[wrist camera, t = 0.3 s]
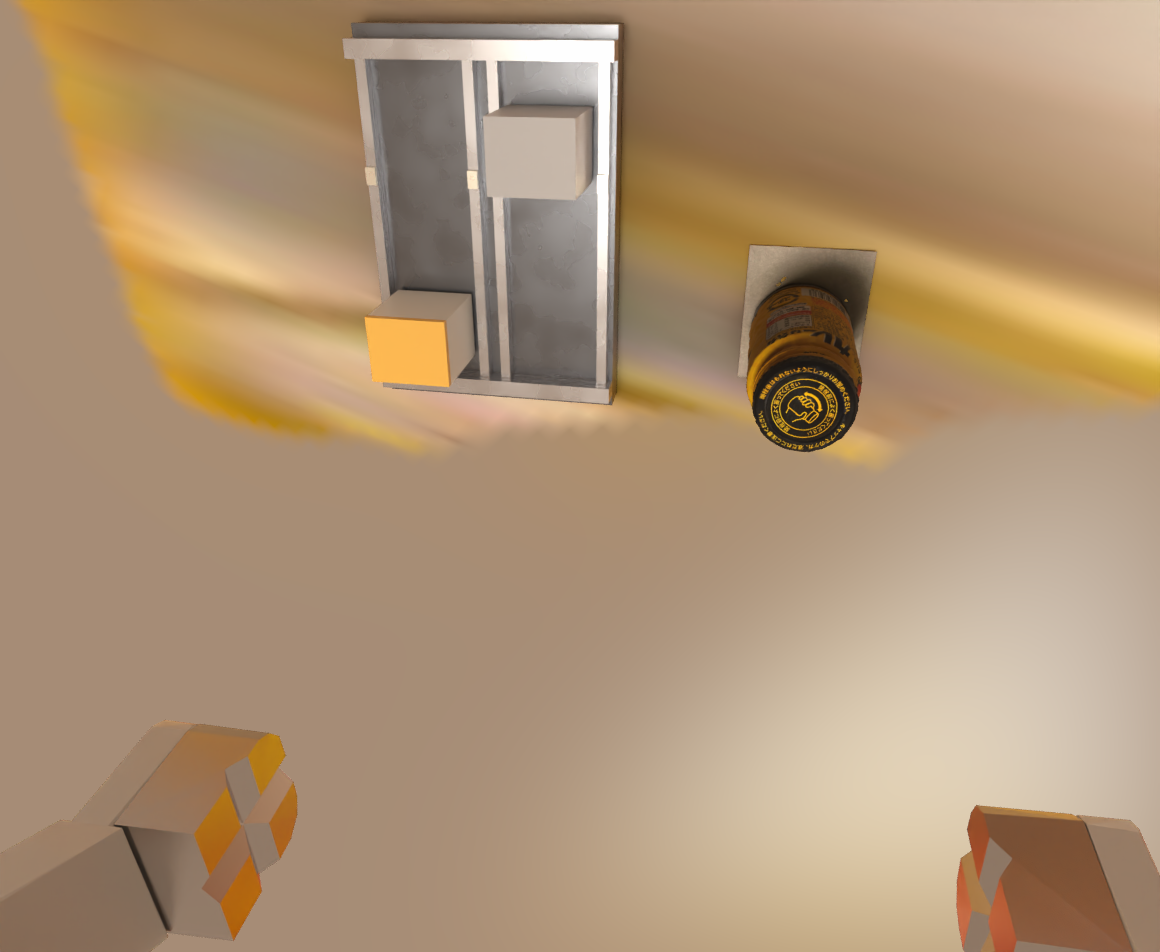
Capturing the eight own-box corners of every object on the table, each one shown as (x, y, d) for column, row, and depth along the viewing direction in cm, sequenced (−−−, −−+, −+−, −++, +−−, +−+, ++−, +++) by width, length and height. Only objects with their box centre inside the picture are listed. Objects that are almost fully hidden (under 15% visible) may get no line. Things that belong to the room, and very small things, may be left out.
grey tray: (365, 21, 51) (340, 24, 48) (623, 23, 49) (614, 25, 46) (402, 377, 62) (384, 396, 59) (616, 392, 59) (608, 414, 56)
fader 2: (507, 104, 50) (483, 116, 45) (592, 106, 49) (575, 118, 45) (510, 179, 52) (487, 196, 47) (592, 181, 51) (575, 200, 46)
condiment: (737, 375, 57) (730, 461, 47) (750, 244, 53) (745, 306, 43) (854, 384, 56) (873, 474, 46) (876, 250, 52) (902, 316, 42)
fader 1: (398, 289, 56) (364, 317, 52) (471, 293, 55) (444, 322, 51) (404, 349, 58) (372, 381, 53) (475, 354, 57) (449, 387, 53)
